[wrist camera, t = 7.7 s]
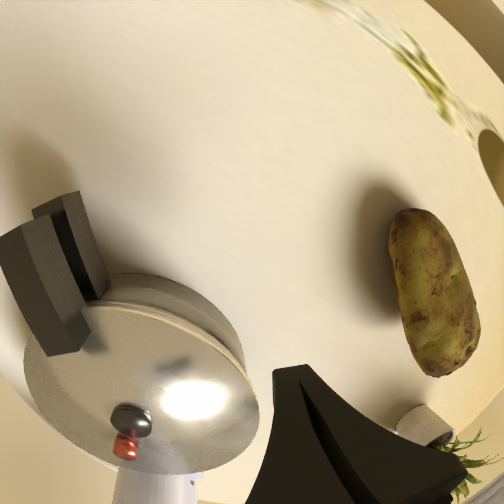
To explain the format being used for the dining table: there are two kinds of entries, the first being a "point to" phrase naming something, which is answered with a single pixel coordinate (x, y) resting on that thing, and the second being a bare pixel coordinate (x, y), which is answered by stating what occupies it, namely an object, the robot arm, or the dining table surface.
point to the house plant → (436, 439)
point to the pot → (131, 279)
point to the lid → (124, 370)
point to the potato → (432, 293)
